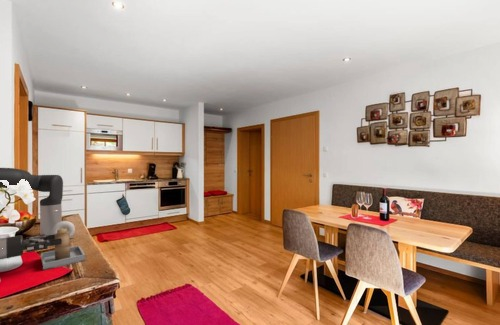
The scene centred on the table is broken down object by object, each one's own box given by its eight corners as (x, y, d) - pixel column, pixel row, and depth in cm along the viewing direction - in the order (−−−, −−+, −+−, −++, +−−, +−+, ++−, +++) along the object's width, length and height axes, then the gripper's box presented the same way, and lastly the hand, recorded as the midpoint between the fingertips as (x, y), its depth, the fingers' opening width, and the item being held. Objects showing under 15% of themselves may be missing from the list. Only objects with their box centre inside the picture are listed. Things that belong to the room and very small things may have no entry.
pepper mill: (54, 258, 105) (53, 229, 104) (69, 255, 108) (68, 227, 108) (55, 262, 101) (55, 232, 101) (70, 258, 104) (70, 229, 104)
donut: (74, 237, 134) (74, 218, 134) (75, 239, 131) (75, 220, 131) (51, 241, 128) (50, 222, 128) (51, 243, 125) (50, 223, 125)
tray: (41, 259, 105) (41, 253, 105) (79, 251, 114) (79, 245, 114) (43, 270, 95) (42, 263, 95) (85, 260, 104) (85, 254, 103)
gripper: (4, 242, 87) (62, 233, 98) (6, 233, 98) (58, 226, 109) (4, 264, 88) (62, 252, 98) (6, 252, 98) (58, 243, 109)
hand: (60, 238), depth 104 cm, fingers open, 8 cm apart
